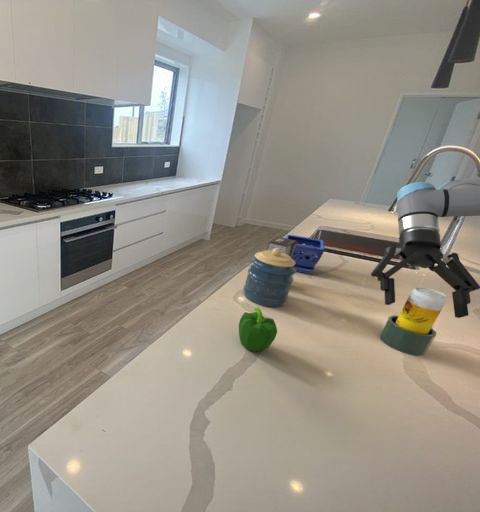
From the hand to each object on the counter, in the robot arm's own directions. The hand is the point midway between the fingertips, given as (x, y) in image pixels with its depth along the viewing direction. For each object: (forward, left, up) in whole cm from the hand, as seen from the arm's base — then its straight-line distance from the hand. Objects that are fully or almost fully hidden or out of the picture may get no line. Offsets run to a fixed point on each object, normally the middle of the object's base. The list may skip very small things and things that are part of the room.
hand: (424, 309), depth 74 cm
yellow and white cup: (0, -1, -11) cm, 11 cm away
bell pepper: (+37, +17, -12) cm, 43 cm away
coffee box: (+28, -27, -12) cm, 41 cm away
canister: (+32, -12, -12) cm, 36 cm away
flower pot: (+17, -46, -12) cm, 51 cm away
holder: (0, -1, -11) cm, 12 cm away
